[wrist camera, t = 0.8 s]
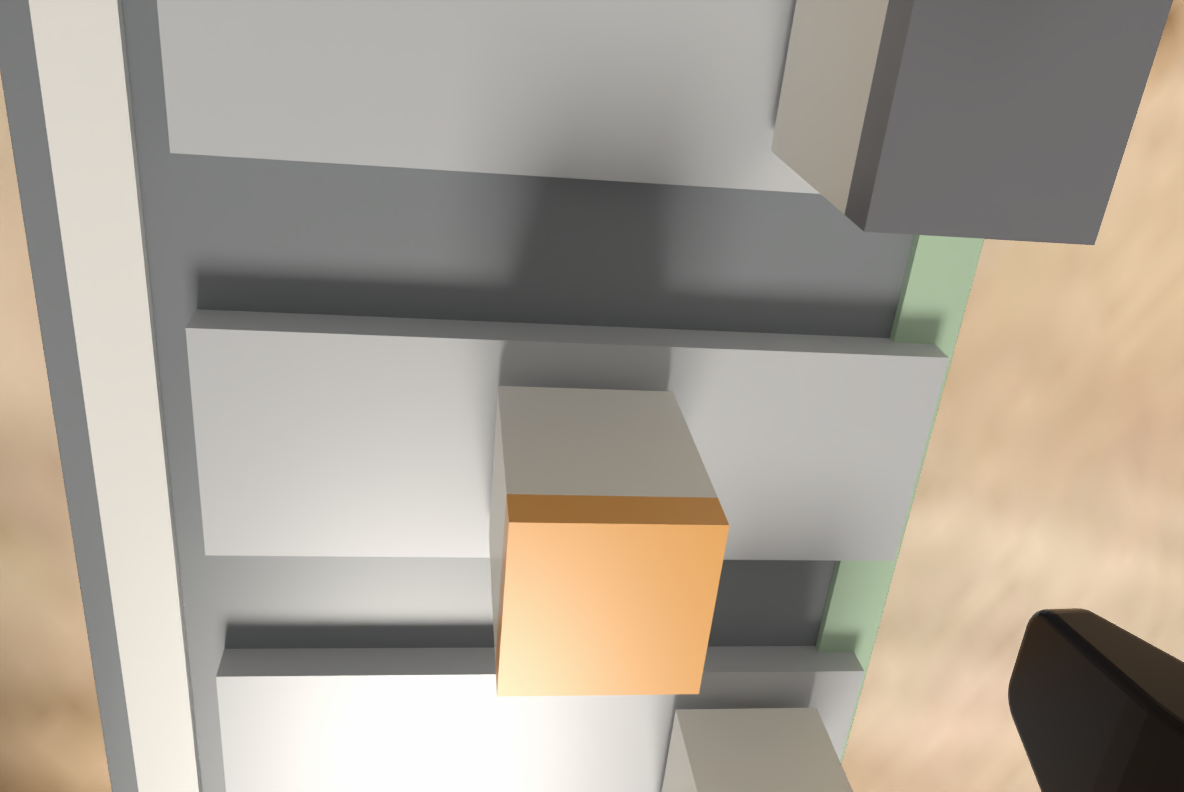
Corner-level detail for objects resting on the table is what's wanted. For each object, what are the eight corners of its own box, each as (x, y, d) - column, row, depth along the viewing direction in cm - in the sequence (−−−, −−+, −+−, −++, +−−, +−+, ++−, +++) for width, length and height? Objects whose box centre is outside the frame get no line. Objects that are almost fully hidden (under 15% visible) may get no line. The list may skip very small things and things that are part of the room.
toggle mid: (652, 537, 19) (698, 694, 15) (488, 535, 18) (497, 696, 15) (673, 391, 18) (729, 525, 14) (497, 385, 17) (509, 522, 14)
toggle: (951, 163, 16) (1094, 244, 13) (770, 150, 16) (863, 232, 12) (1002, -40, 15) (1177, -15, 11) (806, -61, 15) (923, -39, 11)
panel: (805, 777, 26) (834, 853, 24) (139, 793, 24) (109, 880, 22) (1042, -163, 17) (1123, -168, 15) (-10, -289, 14) (-88, -316, 12)
